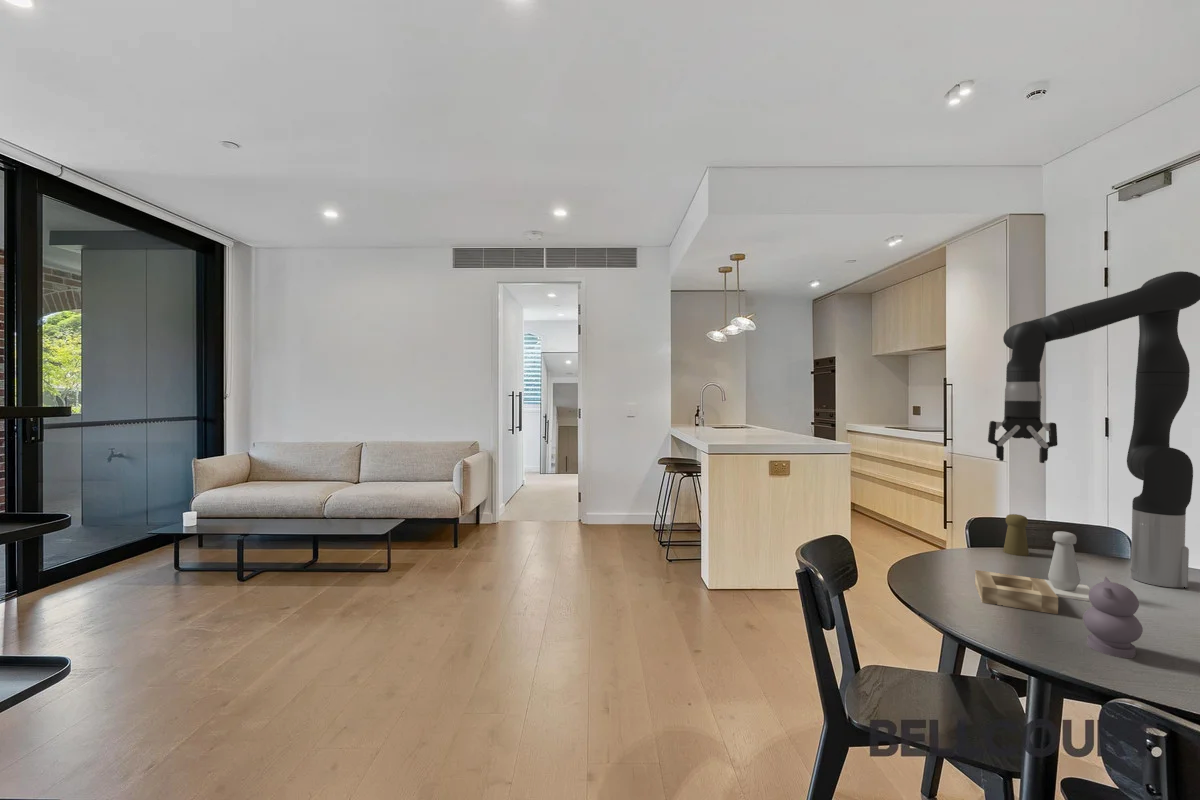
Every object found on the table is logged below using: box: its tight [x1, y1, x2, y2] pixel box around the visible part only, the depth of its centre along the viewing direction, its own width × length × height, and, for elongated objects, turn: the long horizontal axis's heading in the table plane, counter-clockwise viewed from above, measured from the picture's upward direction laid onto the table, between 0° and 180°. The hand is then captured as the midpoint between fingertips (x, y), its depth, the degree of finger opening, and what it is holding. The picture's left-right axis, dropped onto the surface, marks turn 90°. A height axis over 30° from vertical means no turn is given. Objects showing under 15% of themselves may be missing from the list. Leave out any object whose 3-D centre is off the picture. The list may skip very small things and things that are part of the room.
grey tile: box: [1044, 579, 1091, 602], centre depth 129 cm, size 11×11×1 cm
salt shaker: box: [1047, 530, 1081, 591], centre depth 129 cm, size 6×6×13 cm
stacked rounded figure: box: [1082, 576, 1144, 659], centre depth 99 cm, size 8×8×12 cm
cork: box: [1002, 513, 1030, 557], centre depth 160 cm, size 6×6×11 cm
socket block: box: [974, 569, 1059, 615], centre depth 124 cm, size 13×13×4 cm
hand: (1021, 461), depth 145 cm, fingers open, 8 cm apart
